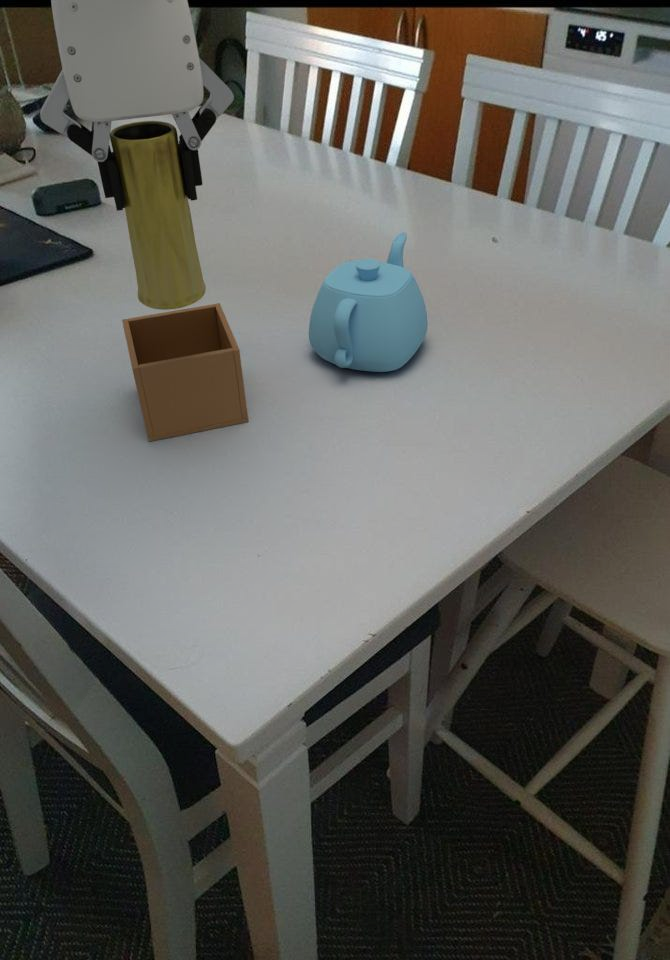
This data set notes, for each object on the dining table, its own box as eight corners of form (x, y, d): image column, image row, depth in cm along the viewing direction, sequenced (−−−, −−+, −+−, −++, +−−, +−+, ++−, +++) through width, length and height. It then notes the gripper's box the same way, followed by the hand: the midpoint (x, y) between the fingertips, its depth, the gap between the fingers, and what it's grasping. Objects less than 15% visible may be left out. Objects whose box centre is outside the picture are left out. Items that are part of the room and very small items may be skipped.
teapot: (455, 235, 91) (394, 305, 79) (450, 320, 98) (393, 397, 85) (353, 220, 95) (280, 283, 83) (355, 302, 102) (288, 372, 90)
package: (148, 441, 81) (132, 368, 75) (137, 389, 88) (121, 319, 83) (248, 421, 83) (239, 349, 77) (229, 372, 90) (219, 302, 85)
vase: (177, 316, 70) (146, 146, 61) (123, 301, 73) (87, 136, 63) (219, 287, 74) (196, 124, 65) (167, 275, 77) (138, 115, 67)
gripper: (221, -73, 61) (246, 172, 72) (-17, -56, 57) (49, 198, 69) (241, -63, 55) (264, 201, 67) (-22, -43, 52) (51, 231, 63)
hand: (155, 197), depth 68 cm, fingers closed on vase, 5 cm apart
